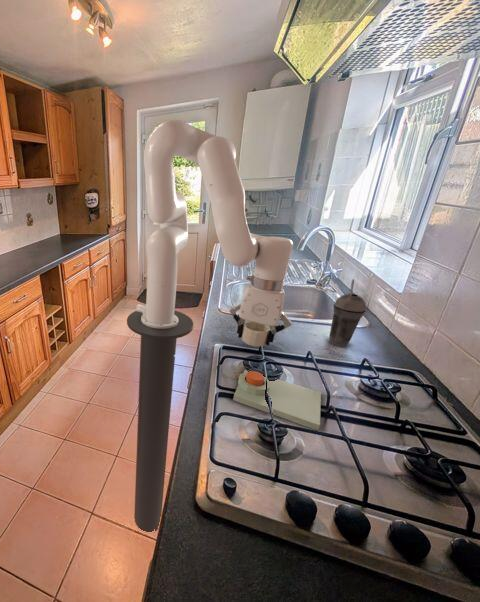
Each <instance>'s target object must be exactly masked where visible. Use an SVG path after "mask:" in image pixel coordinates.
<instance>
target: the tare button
mask: <svg viewBox="0 0 480 602" xmlns="http://www.w3.org/2000/svg"><path fill="white" fill-rule="evenodd" d="M248 371H249V372H248V373H247V376H246V381H247V382H248V383H249V384H251V385H254V386H262V385H263V382H264V376H263V375H264V374H262V373H261V372H259V371H255V370H248Z"/></svg>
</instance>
